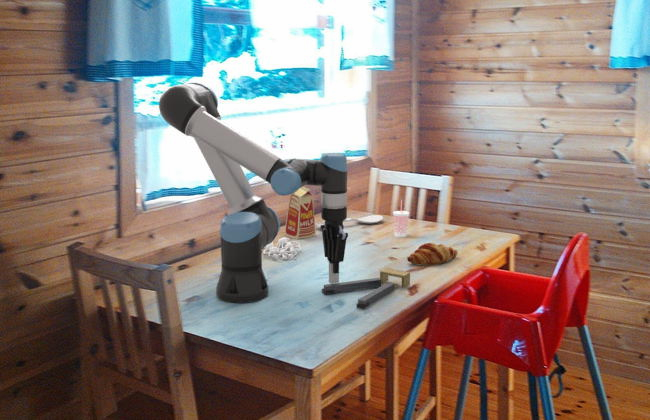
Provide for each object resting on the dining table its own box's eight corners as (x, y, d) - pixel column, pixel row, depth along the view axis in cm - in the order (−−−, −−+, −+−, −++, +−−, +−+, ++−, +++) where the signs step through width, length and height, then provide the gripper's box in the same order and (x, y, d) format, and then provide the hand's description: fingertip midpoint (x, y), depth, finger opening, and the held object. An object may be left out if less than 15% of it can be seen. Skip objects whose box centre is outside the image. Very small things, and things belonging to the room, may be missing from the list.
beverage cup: (411, 234, 282) (412, 199, 279) (404, 238, 277) (405, 201, 274) (396, 232, 285) (397, 197, 282) (389, 236, 280) (390, 200, 277)
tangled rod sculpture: (304, 264, 249) (305, 252, 248) (261, 262, 247) (262, 250, 246) (297, 247, 268) (298, 236, 267) (258, 245, 265) (259, 234, 264)
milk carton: (284, 235, 281) (283, 183, 276) (302, 231, 287) (302, 180, 282) (299, 239, 274) (299, 187, 270) (318, 235, 280) (318, 184, 276)
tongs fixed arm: (387, 284, 224) (387, 276, 224) (402, 287, 221) (402, 279, 221) (348, 306, 205) (348, 298, 205) (363, 310, 203) (364, 301, 202)
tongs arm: (378, 284, 223) (378, 277, 223) (381, 286, 221) (381, 279, 220) (321, 291, 216) (321, 284, 216) (324, 294, 214) (324, 287, 214)
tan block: (385, 279, 228) (386, 267, 227) (409, 284, 223) (410, 272, 222) (379, 283, 224) (380, 271, 223) (403, 287, 220) (404, 275, 219)
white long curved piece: (309, 229, 290) (309, 221, 289) (374, 219, 307) (374, 211, 307) (322, 234, 283) (322, 225, 282) (387, 223, 300) (387, 215, 299)
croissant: (450, 264, 257) (444, 242, 258) (469, 257, 248) (462, 234, 250) (402, 273, 245) (396, 250, 247) (420, 266, 237) (414, 242, 239)
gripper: (356, 209, 212) (355, 286, 217) (334, 200, 223) (334, 274, 229) (333, 211, 209) (333, 290, 214) (312, 203, 220) (313, 278, 225)
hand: (333, 282), depth 221 cm, fingers closed
